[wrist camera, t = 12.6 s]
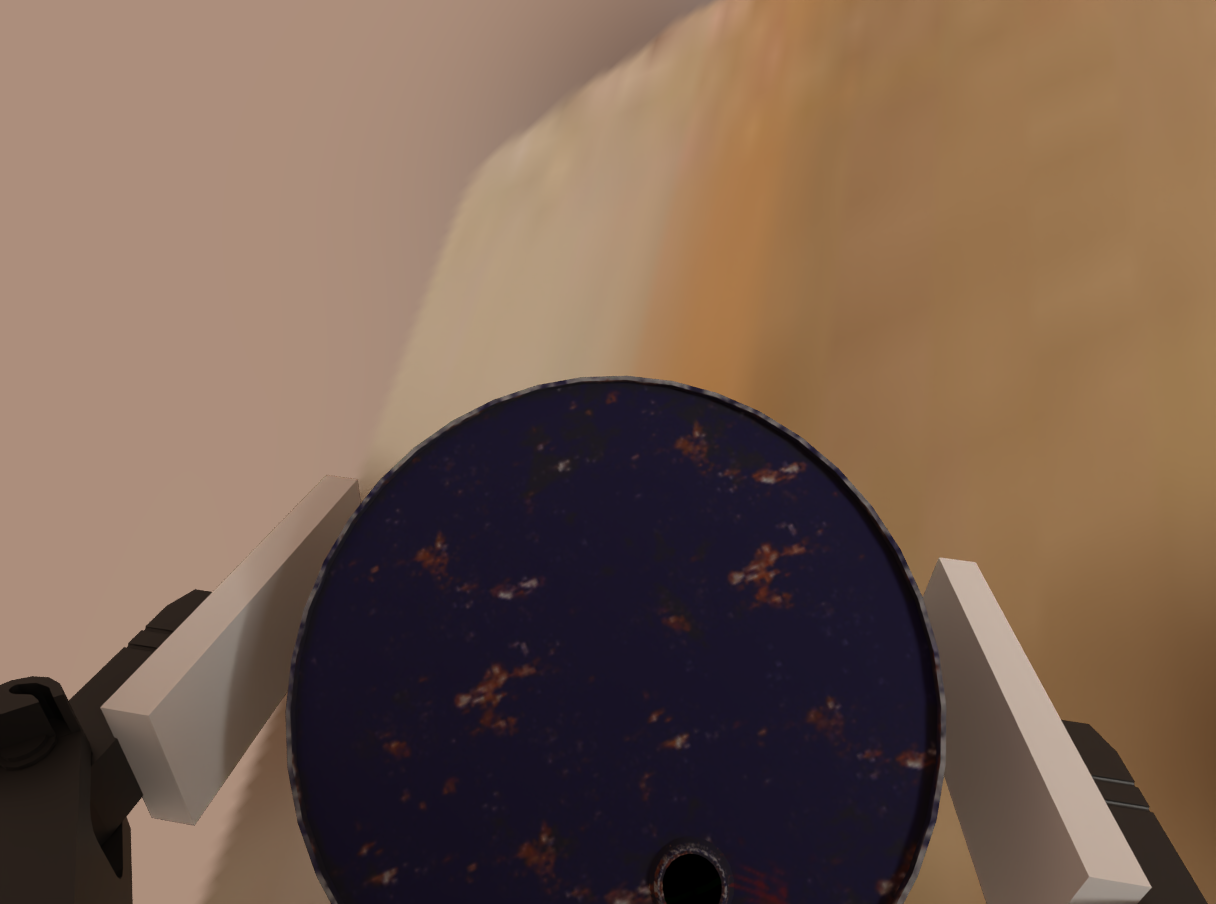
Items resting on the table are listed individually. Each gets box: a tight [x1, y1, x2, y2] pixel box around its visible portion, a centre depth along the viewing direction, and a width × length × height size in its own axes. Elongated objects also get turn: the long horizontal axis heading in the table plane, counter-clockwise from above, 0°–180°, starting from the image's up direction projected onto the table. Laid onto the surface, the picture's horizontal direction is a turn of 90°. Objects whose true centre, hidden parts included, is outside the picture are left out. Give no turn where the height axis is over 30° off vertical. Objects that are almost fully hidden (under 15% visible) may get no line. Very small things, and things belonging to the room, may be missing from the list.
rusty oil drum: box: [286, 376, 946, 904], centre depth 17 cm, size 10×10×15 cm
